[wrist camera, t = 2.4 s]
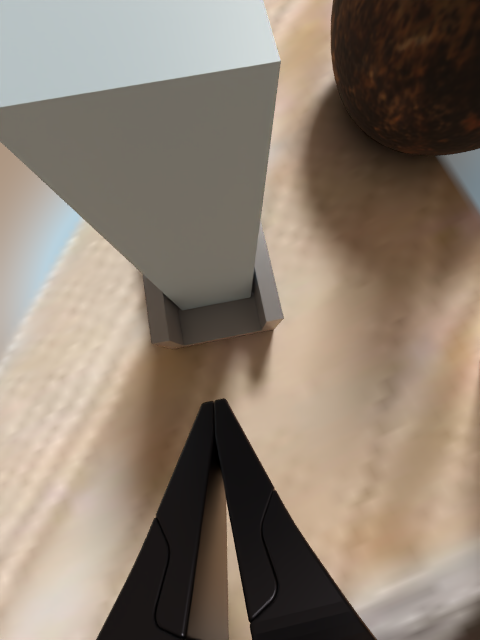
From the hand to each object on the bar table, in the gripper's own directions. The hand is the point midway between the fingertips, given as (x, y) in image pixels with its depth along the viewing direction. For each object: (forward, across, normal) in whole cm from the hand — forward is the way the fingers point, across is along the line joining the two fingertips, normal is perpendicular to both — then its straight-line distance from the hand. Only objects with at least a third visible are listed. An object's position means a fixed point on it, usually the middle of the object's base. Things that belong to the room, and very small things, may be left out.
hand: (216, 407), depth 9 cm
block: (+12, 0, 0) cm, 12 cm away
